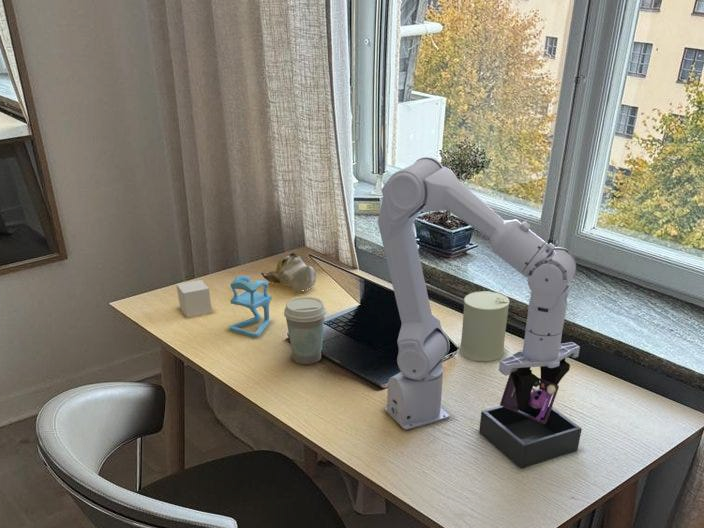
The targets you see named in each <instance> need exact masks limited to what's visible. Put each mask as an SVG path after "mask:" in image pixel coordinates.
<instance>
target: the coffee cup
mask: <svg viewBox="0 0 704 528" xmlns="http://www.w3.org/2000/svg"><path fill="white" fill-rule="evenodd" d="M326 315H327V309H326V307H325V305H324V301H322V300H321V299H319V298H317V297H313V296H300V297H299V296H298V297H294V298H292V299H289V300H288V301H287V302H286V303H285V308H284V310H283V316H284V318H285V320H286V325H287V326H286V327H287V332H288V336H289V342H290V347H291V352H292V359H293V360H294V362H296V363H297V364H301V365H312V364H316V363H318V362H319V361H320V360H321V359H322V353H321V350H322V351H323V339H324V330H325V329H324V328H325V317H326Z"/></svg>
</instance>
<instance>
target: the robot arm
mask: <svg viewBox="0 0 704 528" xmlns="http://www.w3.org/2000/svg"><path fill="white" fill-rule="evenodd" d="M381 195H382V200H381V204H380V208H379V214H378V217H377V225H378V229H379V235H380V238H381V242H382V246H383V251H384V254H385V260H386V264H387V267H388V273H389V276H390V281H391V284H392V289H393V292H394V293H393V294H394V298H395V302H396V306H397V310H398V314H399V319H400V321H401V326H400V329H399V333H398V337H397V341H396V342H397V343H396V344H397V347H398V353H397V357H396V363H397V366H398V369H399V370H400V371H399V372H398V373H397V374H395V375H393V376H391V377H389V379H388V381H387V393H386V394H387V395H386V396H387V399H386V407H385V408H384V410H385V412H386V413H387V414H388V415H389V416H390V417H391V418H392V419H393V420H394V421H395V422H396V423H397V425H399V426H400V427H401V428H402V429H403V430H406V431H407V430H412V429H416V428H418V427H422V426H426V425H430V424H433V423H436V422H441V421H444V420H448V419H450V414H449V413H448V412H446V410H444V408H442V394H443V393H442V391H443V381H444V380H443V379H444V365H443V359H444V358H445V357H446V356H447V355H448V353H449V351H450V347H451V346H450V345H451V344H450V339H449V337H448V336H447V334H446V333H445V331H444V330H443V327H442V324H441V320H440V319H439V318H438V317H436V316H435V315H433V312H432V308H431V303H430V299H429V295H428V289H427V286H426V280H425V276H424V271H423V266H422V261H421V257H420V253H419V248H418V243H417V239H416V234H415V228H414V223H415V221H417V218H418V217H419V215H420V214H421V212H423V211H424V212H425V213H431V212H440V211H441V212H442V211H443V212H444V211H446V212H447V211H448V212H450V213H451V214H453V215H454V216H456V217H457V218H458V219H459V220H461V221H462V222H464V223H465V224H467V225H468V226H470V227H472V228H473V229H474V230H475V231H478V232H479V233H480V234H482V236H484V237H486V238H488V239H489V241H490V246H491V250H492V253H494V254H495V255H496V256H498V257H499V258H500V259H502V260H503V261H504V262H505V263H507V264H508V265H509V266H510V267H512V268H513V269H514V270H515V271H517V272H518V273H519V274H521V275H522V276H523V277H525V278H526V279H527V285H528V288H529V289H530V292H531V293H530V299H529V302H528V309H527V317H526V324H525V330H524V337H523V346H522V348H521V349H520V350H518V351H516V352H515V353H512V355H509V356H508V357H506V358H503V359H500V360H499V365H498V372H500V373H501V374H502V375H504V376H505V377H508V376H509V375H511V378H512V380H513V383H514V387H515V391H516V398H517V404H518V405H520V406H521V407H522V408H527V407H528V405H529V401H530V395H531V392H532V391H533V389H534V383H535V381H536V380H537V378H539V377H538V376H537V375H535V374H534V373H533V370H532V369H531V368H540V369H539V370H540V379H543V380H545V381H548V382H551V383H553V384H556V385H558V386H559V383H560V382H561V381H562V379H563V378H564V376H565V375H566V374H567V373H569V372H570V368H571V364H570V363H569V362H567V361H566V359H567V358H572V359H576V358H579V354H580V349H581V346H580V345H578V344H577V343H575V342H573V341H569V342H563V343H562V336H563V331H564V324H565V320H566V319H565V318H566V313H567V307H568V297H569V296H568V295H569V290H570V285H569V284H570V282H571V281H572V280H573V278H574V276H575V274H576V271H577V262H576V259H575V257H574V256H573V255H572V254H571V252H570V251H569V249H568V248H565V247H562V246H555V245H554V244H553V243H552V242H550V243H548V242H546V241H545V240H544V239H543V238H541V237H540V236H539V235H537V234H536V233H535V232H533V231H532V230H531V226H532V225H531V224H530V223H528V222H527V221H525V220H524V221H522V222H521V221H519V220H518V219H508V220H505V219H503V218H502V216H500V215H499V214H498V213H497V212H496V211H495V210H493V209H492V208H491V207H490V206H488V204H486V203H485V202H484V201H483V200H482V199H481V198H480V197H478V196H477V195H476V194H475V193H474V192H473V191H471V189H469V188H468V187H467V186H466V185H465V184H464V183H462V181H460V180H459V178H458V177H457V175H456V174H455V172H453V170H452V169H450V168H449V167H446V166H443V165H442V163H441V162H440V161H439V160H438V159H436V158H434V157H432V156H431V157H430V156H422V157H420V158H418V159H417V160H415V161H414V162H413V163H411V164H410V165H408V166H406V167H405V168H403V169H400V170H397V171H395V172H394V173H393V174H392V175H391V176H390V177H389V179H388V180H387V181H386V182H385V184H384V185H383V187H381ZM423 209H424V210H423ZM539 382H540V383H541V381H539ZM548 386H549V384H547V387H548ZM532 388H533V389H532ZM555 388H556V387H555ZM538 389H540V388H539V387H538ZM543 391H545V392H546V394H547V388H546V389H545V390H543ZM552 396H553V394H552Z"/></svg>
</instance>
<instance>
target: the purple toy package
mask: <svg viewBox="0 0 704 528" xmlns="http://www.w3.org/2000/svg"><path fill="white" fill-rule="evenodd" d="M540 381H541V383H540ZM547 384H549V386H548V387H547ZM534 387H535V388H534ZM537 387H538V388H537ZM555 387H556V388H555ZM539 388H540V389H539ZM546 388H547V394H546V392H545V391H543V390H545V389H546ZM559 389H560V386H559V384H558V385H556V384H553V383H551V382H548V381H545V380H543V379H541V377H538V378H537V380H536V381H535V383H534V386H533V388H532V391H531V395H530V401H529V405H530V406H531V407H533V408H536V409H538V408H541V411H540V414H539V415H538V416H537V417H536V418H535V417H533V416H531V415H528V414H526V413H524V412H521V411H519V410H518V407H519V405H518V404H517V398H516V391H515V387H514V383H513V380H512V378H511V375H508V378H507V381H506V384H505V387H504V390H503V393H502V396H501V400H500V403H499V406H503V407H505V408H507V409H510V410H512V411H514V412H517V413H519V414H521V415H524V416H526V417H528V418H531V419H533V420H535V421H538V422H540V423H542V424H546V422H547V420H548V417H549V414H550V411H551V408H552V407H553V405H554V402H555V400H556V397H557V394H558V391H559ZM552 394H553V395H552ZM548 405H549V408H548ZM547 408H548V411H547V414H546V417H545V420H544V421H543V420H540V419H541V417H543V418H544V415H545V413H546V410H547Z"/></svg>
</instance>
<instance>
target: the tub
mask: <svg viewBox="0 0 704 528" xmlns="http://www.w3.org/2000/svg"><path fill="white" fill-rule="evenodd" d="M549 405H550V404H549ZM549 405H548V408H549ZM548 408H547V410H546V413H545V415H544V418H543V417H541V419H540V420H543V421H544V420H545V417H546V414H547V411H548ZM518 410H519V411H521V412H524V413H526V414H528V415H531V416H533V417H535V418H536V417H537V416H538V415H539V414H540V411H541V408H538V409H536V408H533V407H531V406H530V405H528V407H527V408H522V407H521V406H520V405H519V407H518ZM480 411H481V412H480V421H479V430H478V433H479V434H480V435H481V436H482V437H483V438H485V440H486V441H488V442H489V443H490V444H491V445H492V446H494V447H495V448H496V449H497V450H498V451H499V452H500V453H502V454H503V455H504V456H505V457H506V458H507V459H508V460H509V461H510V462H512V463H513V464H514V465H516V467H517V468H518V469H524V468H528V467H531V466H534V465H537V464H540V463H544V462H547V461H550V460H553V459H557V458H559V457H562V456H566V455H569V454H572V453H575V452H578V450H579V446H580V440H581V435H582V427H580V426H579V425H578V424H576V423H575V422H574V421H572V420H571V419H570V418H568V417H567V416H566V415H564V414H563V413H562V412H560V411H559V410H558V409H556V408H555V407H554V406H552V408H551V411H550V414H549V417H548V420H547V422H546V424H542V423H540V422H538V421H535V420H533V419H531V418H528V417H526V416H524V415H521V414H519V413H517V412H514V411H512V410H510V409H507V408H505V407H503V406H500V405H498V406H494V407H490V408H487V409H483V410H480Z"/></svg>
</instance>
